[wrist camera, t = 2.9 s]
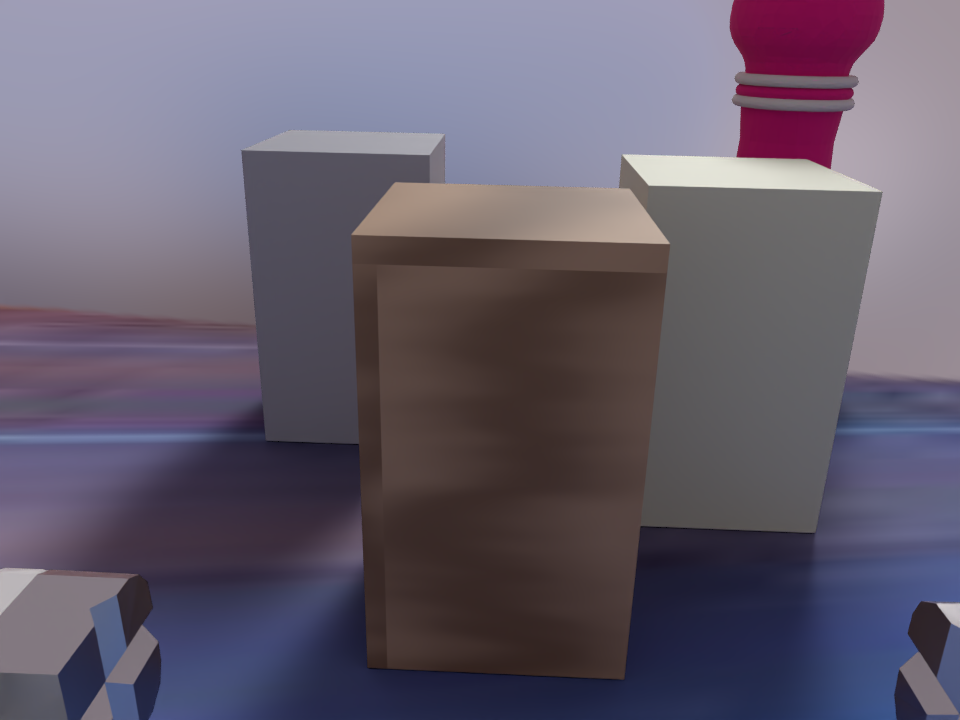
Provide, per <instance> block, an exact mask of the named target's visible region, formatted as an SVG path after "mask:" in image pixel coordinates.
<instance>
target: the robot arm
mask: <svg viewBox="0 0 960 720" xmlns="http://www.w3.org/2000/svg"><path fill="white" fill-rule="evenodd" d="M152 608H153V606H152V601H151V596H150V591H149V586H148V582H147V581H146V580H145V579H144V578H142V577H141V576H140V575H139V574H122V573H104V572H86V571H68V570H48V571H47V570H44V569H21V568H4V569H0V720H149V718H150V716H151V714H152V712H153V709H154V705H155V702H156V698H157V694H158V690H159V686H160V679H161V656H160V649H159V642H158V641H157V640H156V639H155V638H154V637H153V636H152V634H151V633H150V632H149V631H148V630H147V629H146V628H145V627H144V626H143V625H142V624H143V622H144V621H145V619H146V618H147V616H148V614H149V613H150V611H151V610H152ZM908 635H909V637H910V638H911V640H912V641H913V643H914V645H915V646H916V648H917V649H918V651H919V652H917V653H916V654H915V655H914V656H913V657H912V658H911V659H910V660H908V661H907V662H906V663H905V664H904V665H903V666H902V667H900V668H899V673H898V678H897V684H896V689H895V694H894V696H895V707H896V718H897V720H960V602H930V601H921V602H920V604H919V605H918V607H917V608H916V609H915V611H914V612H913V614H912V618H911V622H910V626H909V630H908Z"/></svg>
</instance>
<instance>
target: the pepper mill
mask: <svg viewBox="0 0 960 720" xmlns="http://www.w3.org/2000/svg"><path fill="white" fill-rule="evenodd" d="M883 15H884V0H734V2H733V5H732V11H731V16H730V32H731V36H732V39H733V41H734V43H735V45H736V47H737V48H738V49H739V51H740V53H741V54H742V56H743V59H744V62H745V67H746V70H745V72H739V73H737V74H736V76H735V81H736V82H737V83H739V85H738V86H737V87H736V93H737V94H735V95H734V96H733V98H732V102H733V104H735V105H737V106H741V121H740V141H739V146H738V151H737V158H776V159H807V160H810V161H812V162H814V163H817V164H819V165H821V166H824V167H826V168H828V169H831V161H832V153H833V145H834V140H835V137H836V133H837V130H838V126H839V123H840V120H841V116H842V113H843V111H847V110H851V109H852V108H853V107H854V104H855V103H854V100H853V99H851V97H852V96H853V94H854V92H853V89H852V88H853V87H855V86H857V85H858V82H859V81H858V78H857V77H856V76H852V75H849V73H850V70H851V68H852V66H853V64H854V62H855V61H856V60H857V59H858V58H859V57H860V56H861V55H862V53H863V52H864V51H865V50H866V49H867V48H868V47H869V46H870V45H871V44H872V43H873V42H874V41H875V38H876V37H877V35H878V32H879V30H880V27H881V23H882V20H883Z"/></svg>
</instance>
